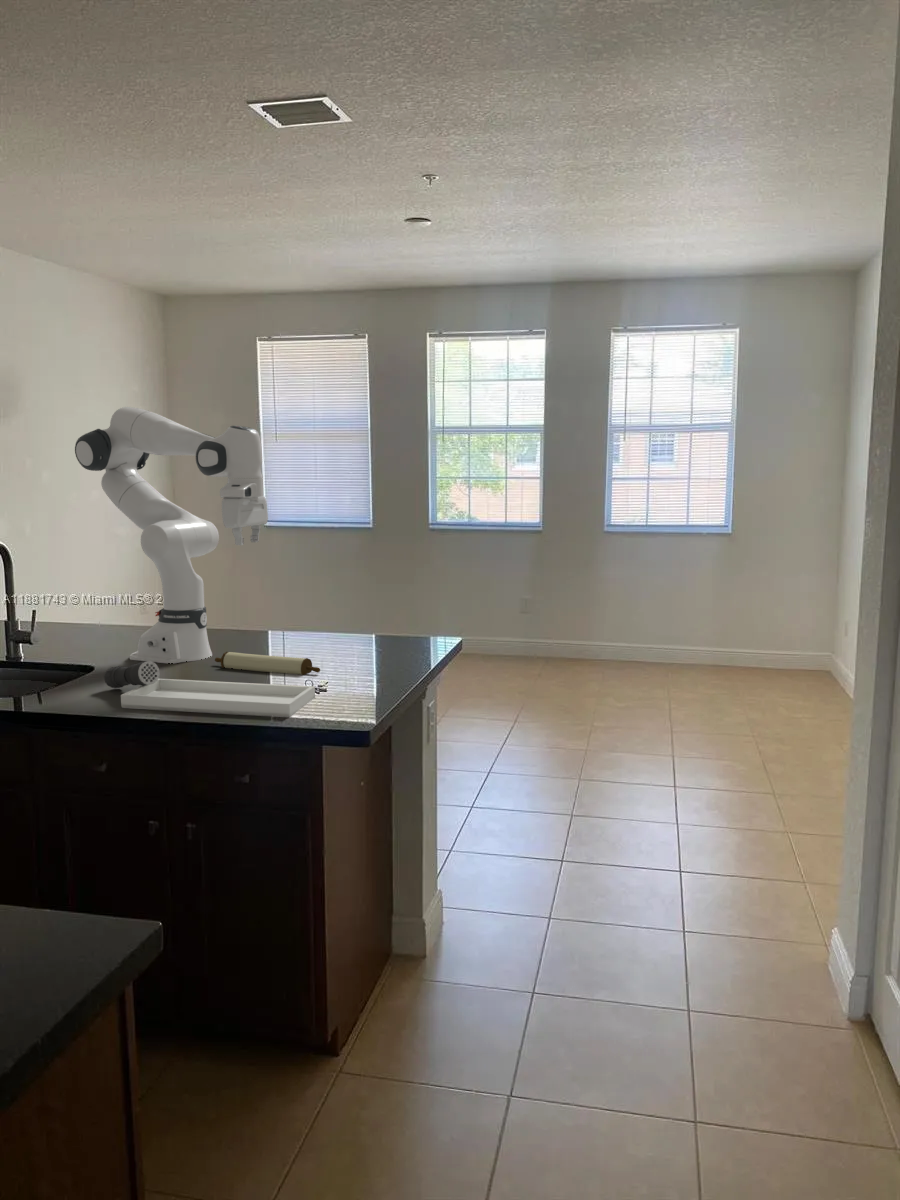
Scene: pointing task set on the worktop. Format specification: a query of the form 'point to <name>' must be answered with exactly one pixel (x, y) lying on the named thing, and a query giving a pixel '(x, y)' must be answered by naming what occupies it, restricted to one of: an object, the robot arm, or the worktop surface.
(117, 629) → the worktop surface
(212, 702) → the tray
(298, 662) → the rolling pin
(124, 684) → the flashlight
